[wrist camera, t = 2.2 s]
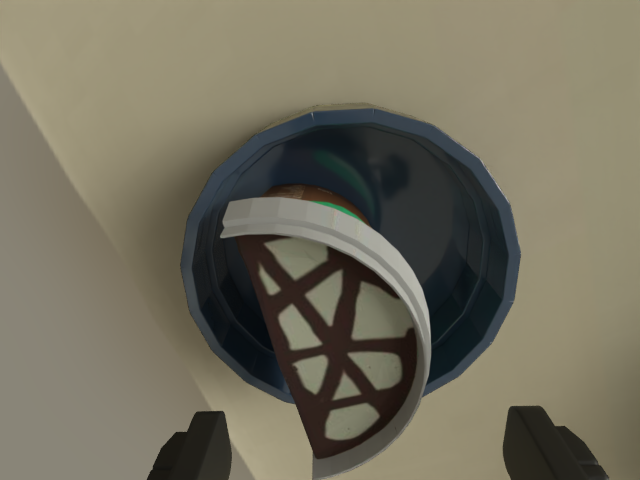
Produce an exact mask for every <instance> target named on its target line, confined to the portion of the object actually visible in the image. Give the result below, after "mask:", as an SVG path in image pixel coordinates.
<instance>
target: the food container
mask: <svg viewBox="0 0 640 480" xmlns="http://www.w3.org/2000/svg"><path fill="white" fill-rule="evenodd" d="M222 222H223V225H224V227H225V228H224V230H223V232H222V233H221V235H220V237H221V238H226V237H233V236H234V238H235V240H236V243H237V247H238V251H239V253H240V255H241V257H242V259H243V261H244V263H245V266H246V268H247V271H248V273H249V276H250V279H251V282H252V285H253V288H254V290H255V293H256V296H257V299H258V302H259V305H260V308H261V311H262V314H263V317H264V320H265V323H266V326H267V329H268V333H269V336H270V339H271V343H272V346H273V349H274V352H275V355H276V358H277V362H278V365H279V367H280V370H281V372H282V374H283V377H284V379H285V381H286V383H287V386H288V388H289V390H290V392H291V395H292V397H293V400H294V402H295V404H296V407H297V409H298V412H299V415H300V417H301V420H302V423H303V426H304V428H305V431H306V434H307V436H308V439H309V442H310V445H311V447H312V450H313V478H312V480H321V479H326V478H331V477H334V476H337V475H339V474H342V473H345V472H348V471H351V470H353V469H355V468H357V467H359V466H361V465H363V464H365V463H367V462H368V461H370V460H371V459H373V458H374V457H376V456H377V455H379V454H380V453H382V452H383V451H384V450H386V449H387V448H388V447H389V446H390V445H391V444H392V443H393V442H394V441H395V440H396V439H397V438H398V437H399V436H400V435H401V434H402V432H403V431H404V430H405V428H406V427H407V426H408V424H409V423H410V422H411V420H412V418H413V416H414V414H415V412H416V411H417V409H418V407H419V405H420V402H421V398H422V395H423V392H424V389H425V386H426V382H427V379H428V376H429V370H430V360H431V333H430V321H429V310H428V307H427V304H426V300H425V297H424V293H423V290H422V288H421V286H420V284H419V282H418V280H417V278H416V276H415V274H414V272H413V270H412V269H411V267H410V266H409V265H408V263H407V262H406V261H405V259H404V258H403V257H402V255H401V254H400V253H399V251H398V250H397V249H395V248H394V247H393V246H392V245H391V244H390V243H389V242H388V241H387V240H386V239H385V238H384V237H383V236H382V235H381V234H379V233H378V232H376V231H375V230H373V229H372V227H371V226H370V224H369V222H368V220H367V219H366V217H365V216H364V215H363V213H362V212H361V211H360V210H359V209H358V208H357V207H356V206H355V205H354V204H353V203H352V202H351V201H349V200H348V199H346V198H344V197H343V196H341V195H340V194H338V193H336V192H333V191H331V190H329V189H327V188H323V187H319V186H316V185H310V184H302V183H292V184H282V185H276V186H272V187H271V188H270V189H268V190H267V191H266V192H265V193H264V194H263V195H262V196H261V197H259V198H249V199H243V200H237V201H231V202H229V204H228V207H227V210H226V213H225V216H224V218H223V221H222Z"/></svg>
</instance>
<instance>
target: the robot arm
mask: <svg viewBox="0 0 640 480" xmlns="http://www.w3.org/2000/svg"><path fill="white" fill-rule="evenodd" d="M503 457H504V462H505V466H506V469H507V472H508V474H509V476H510V478H511V480H609V477H608V475H607V474H606V472H605V471H604V470H603V468H602V467H601V466H599V465H598V461H597V460H596V458H595V457H594V455H593V454H592V453H591V451H590V450H589V448H588V447H587V445H586V444H585V443H584V442H583V441H582V440H581V439H580V438H578V437H577V436H576V435H575V434H574V433H572V432H571V431H570V430H569V429H568V428H566V427H565V426H555V425H554V424H553V422H552V421H551V419H550V418H549V416H548V415H547V413H546V412H545V410H544V409H543V408H542V407H541V406H511V407H510V408H509V410H508V416H507V422H506V429H505V435H504V442H503ZM231 461H232V452H231V445H230V439H229V434H228V429H227V423H226V418H225V414H224V412H223V411H202V412H196V413H195V415H194V417H193V419H192V421H191V423H190V426H189V429H188V431H187V432H176V433H175V434H174V435H173V436H172V437H171V438H170V439H169V440H168V441H167V443H166V444H165V445H164V446H163V447H162V448H161V450H160V452H159V454H158V456H157V459H156V461H155V463H154V465H153V470H151V472H150V474H149V476H148V478H147V480H228V479H229V475H230V469H231Z"/></svg>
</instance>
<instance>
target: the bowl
mask: <svg viewBox="0 0 640 480" xmlns="http://www.w3.org/2000/svg"><path fill="white" fill-rule="evenodd" d="M292 183H302V184H310V185H316V186H319V187H323V188H327V189H329V190H331V191H333V192H336V193H338V194H340V195H341V196H343V197H344V198H346V199H348V200H349V201H351V202H352V203H353V204H354V205H355V206H356V207H357V208H358V209H359V210H360V211H361V212H362V213H363V215H364V216H365V217H366V219H367V220H368V222H369V224H370V226H371V227H372V229H373V230H375V231H376V232H378V233H379V234H381V235H382V236H383V237H384V238H385V239H386V240H387V241H388V242H389V243H390V244H391V245H392V246H393V247H394V248H395V249H397V250H398V251H399V253H400V254H401V255H402V257H403V258H404V259H405V261H406V262H407V263H408V265H409V266H410V267H411V269H412V270H413V272H414V274H415V276H416V278H417V280H418V282H419V284H420V286H421V288H422V290H423V293H424V297H425V300H426V304H427V307H428V310H429V321H430V333H431V360H430V370H429V376H428V379H427V382H426V386H425V389H424V392H423V395H422V397H424V396H426V395H427V394H429V393H431V392H433V391H434V390H436V389H438V388H440V387H441V386H443V385H445V384H447V383H448V382H450V381H452V380H454V379H455V378H457V377H459V376H460V375H461V374H462V373H463V372H464V371H465V370H466V369H467V368H468V367H469V366H470V365H471V364H472V363H473V362H474V361H475V360H476V359H477V358H478V357H479V356H480V355H481V354H482V353H483V352H484V351H485V350H486V349H487V348H488V347H489V346H490V345H491V344H492V342H493V341H494V339H495V337H496V335H497V333H498V331H499V329H500V327H501V325H502V323H503V321H504V320H505V318H506V316H507V314H508V312H509V310H510V308H511V306H512V304H513V301H514V298H515V292H516V285H517V278H518V271H519V264H520V258H521V254H520V253H521V251H520V246H519V242H518V237H517V232H516V228H515V223H514V219H513V214H512V209H511V205H510V202H509V201H508V199H507V198H506V196H505V195H504V193H503V192H502V190H501V189H500V187H499V186H498V184H497V183H496V181H495V180H494V178H493V177H492V175H491V174H490V172H489V171H488V169H487V168H486V166H485V165H484V163H483V162H482V160H481V159H480V158H479V157H477V156H476V155H475V154H473V153H472V152H471V151H469V150H468V149H466V148H465V147H464V146H462V145H461V144H459V143H458V142H457V141H455V140H454V139H452V138H451V137H450V136H448V135H447V134H446V133H444V132H443V131H441V130H440V129H439V128H437V127H436V126H434V125H432V124H430V123H428V122H425V121H423V120H420V119H418V118H416V117H413V116H411V115H407V114H404V113H400V112H397V111H393V110H390V109H386V108H383V107H379V106H376V105H372V104H369V103H349V104H331V105H316V106H313V107H310V108H308V109H305V110H303V111H300V112H298V113H295V114H293V115H290V116H288V117H286V118H283V119H281V120H278V121H276V122H273V123H271V124H269V125H268V126H266V127H265V128H264V129H262V130H261V131H259V132H258V133H257V134H255V135H254V136H253V137H252V138H251V139H249V140H248V141H247V142H246V143H245V144H244V145H243V146H241V147H240V148H239V149H238V150H237V151H236V152H235V153H233V154H232V155H231V156H230V157H229V158H228V159H227V160H225V161H224V162H223V163H222V164H221V165H220V166H219V167H217V168H216V169H215V170H214V171H213V173H212V174H211V176H210V178H209V180H208V181H207V183H206V185H205V187H204V189H203V190H202V192H201V194H200V196H199V198H198V199H197V201H196V203H195V205H194V207H193V209H192V210H191V212H190V214H189V216H188V219H187V224H186V230H185V237H184V244H183V250H182V257H181V264H180V266H181V273H182V277H183V282H184V287H185V292H186V297H187V302H188V307H189V311H190V314H191V316H192V317H193V319H194V321H195V323H196V324H197V326H198V328H199V329H200V331H201V333H202V335H203V336H204V338H205V340H206V341H207V343H208V345H209V347H210V348H211V350H212V351H213V352H214V353H215V354H216V355H217V356H218V357H219V358H220V359H221V360H222V361H223V362H224V363H226V364H227V365H228V366H229V367H230V368H231V369H232V370H233V371H234V372H235V373H236V374H237V375H239V376H240V377H241V378H242V379H243V380H244V381H245V382H246V383H248V384H250V385H252V386H254V387H256V388H258V389H260V390H262V391H264V392H266V393H268V394H270V395H272V396H274V397H276V398H278V399H280V400H282V401H284V402H287V403H292V404H295V402H294V400H293V397H292V395H291V392H290V390H289V388H288V386H287V383H286V381H285V379H284V377H283V374H282V372H281V370H280V367H279V365H278V362H277V358H276V355H275V352H274V349H273V346H272V343H271V339H270V336H269V333H268V329H267V326H266V323H265V320H264V317H263V314H262V311H261V308H260V305H259V302H258V299H257V296H256V293H255V290H254V288H253V285H252V282H251V279H250V276H249V273H248V271H247V268H246V266H245V263H244V261H243V259H242V257H241V255H240V253H239V251H238V247H237V243H236V240H235V238H234V236H233V237H226V238H221V237H220V235H221V233H222V232H223V230H224V228H225V227H224V225H223V222H222V221H223V218H224V216H225V213H226V210H227V207H228V204H229V202H231V201H237V200H243V199H249V198H259V197H261V196H262V195H263V194H264V193H265V192H266V191H267V190H268V189H270V188H271V187H272V186H276V185H282V184H292Z"/></svg>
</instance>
